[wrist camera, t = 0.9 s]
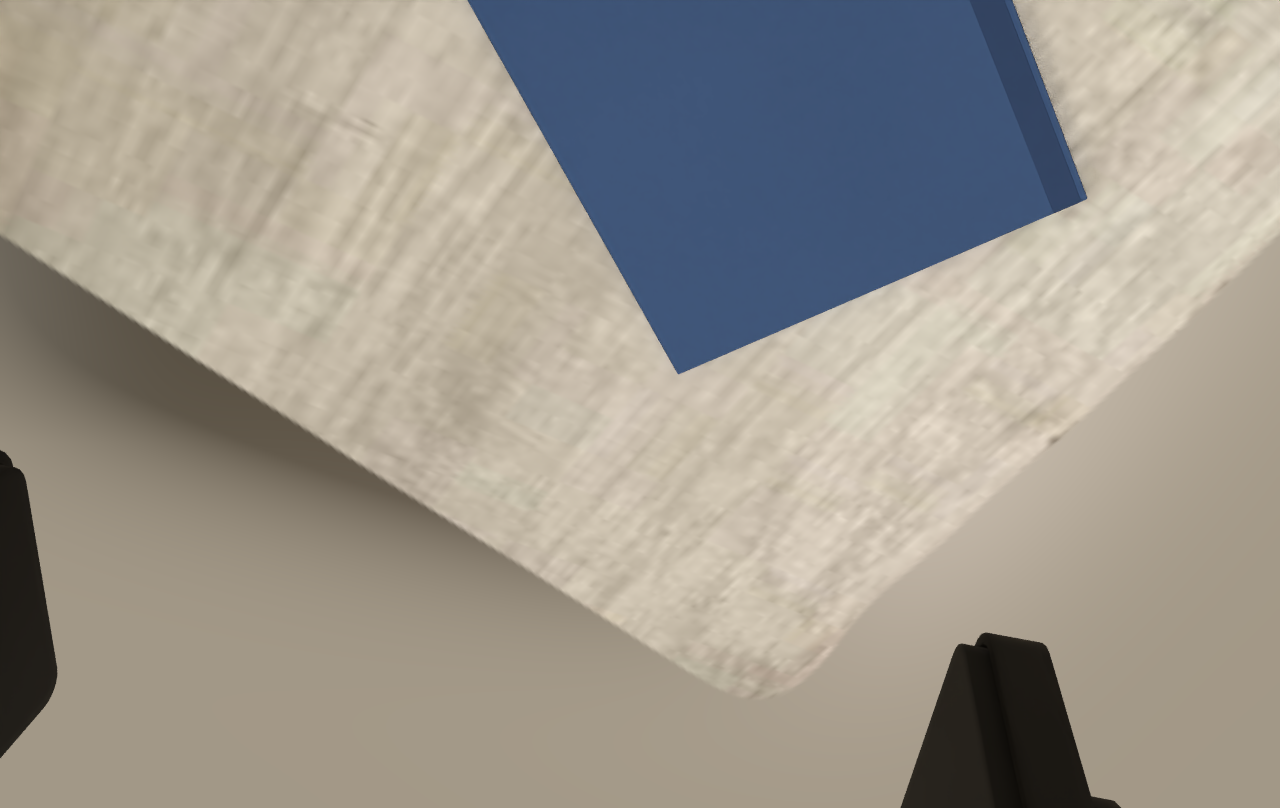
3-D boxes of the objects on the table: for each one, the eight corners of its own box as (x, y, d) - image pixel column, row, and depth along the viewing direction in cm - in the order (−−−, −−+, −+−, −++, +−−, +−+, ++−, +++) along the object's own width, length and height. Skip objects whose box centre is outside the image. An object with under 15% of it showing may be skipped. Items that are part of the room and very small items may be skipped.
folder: (401, -125, 37) (397, -124, 36) (851, -420, 32) (851, -423, 31) (679, 370, 44) (677, 375, 43) (1085, 195, 38) (1088, 199, 38)
